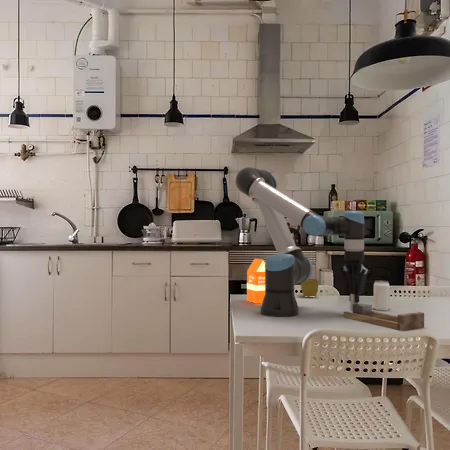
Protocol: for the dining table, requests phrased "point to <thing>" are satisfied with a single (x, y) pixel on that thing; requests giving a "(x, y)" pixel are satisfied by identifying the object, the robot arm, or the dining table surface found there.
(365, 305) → the block
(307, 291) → the flower pot
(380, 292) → the can
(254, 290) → the orange juice
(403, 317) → the oak track
